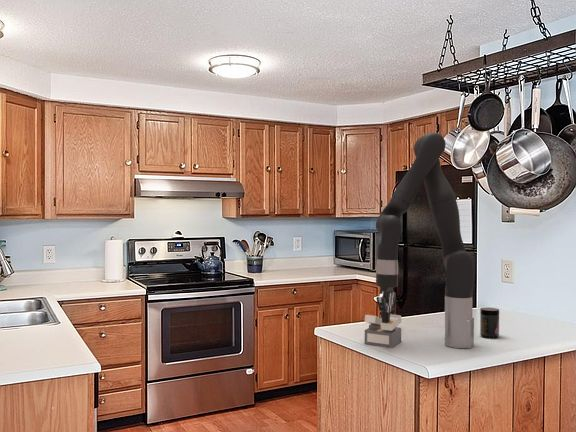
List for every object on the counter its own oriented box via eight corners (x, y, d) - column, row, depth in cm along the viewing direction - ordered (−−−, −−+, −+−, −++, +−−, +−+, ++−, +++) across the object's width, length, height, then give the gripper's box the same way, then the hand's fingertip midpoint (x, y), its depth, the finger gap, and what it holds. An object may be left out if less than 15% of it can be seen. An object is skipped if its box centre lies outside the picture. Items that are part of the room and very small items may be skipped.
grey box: (401, 341, 193) (401, 325, 193) (391, 347, 184) (391, 330, 184) (375, 338, 198) (375, 322, 198) (364, 344, 189) (364, 327, 189)
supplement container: (494, 340, 195) (494, 311, 195) (476, 336, 200) (476, 309, 200) (502, 336, 200) (502, 309, 200) (485, 333, 205) (485, 306, 205)
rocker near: (401, 322, 193) (401, 315, 193) (391, 330, 184) (391, 323, 184) (390, 321, 195) (390, 314, 195) (380, 329, 186) (380, 322, 186)
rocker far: (384, 326, 195) (385, 319, 196) (375, 323, 187) (376, 315, 188) (374, 325, 197) (375, 318, 198) (364, 321, 189) (365, 314, 190)
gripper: (390, 275, 178) (389, 327, 178) (403, 271, 190) (402, 320, 190) (369, 273, 182) (368, 324, 182) (383, 270, 193) (382, 318, 193)
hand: (385, 322), depth 186 cm, fingers closed
